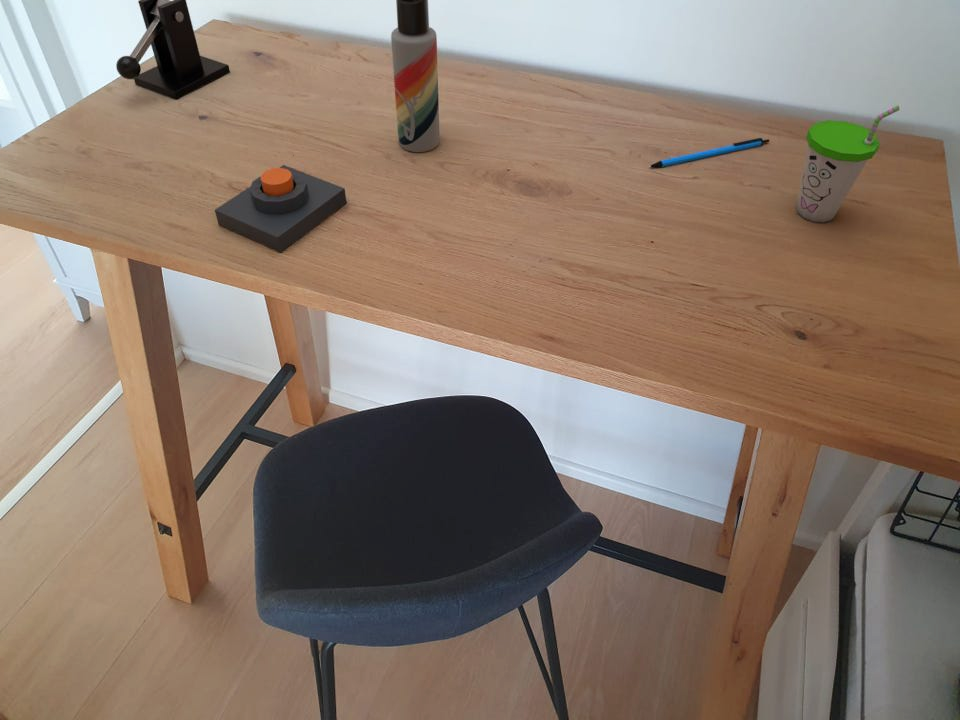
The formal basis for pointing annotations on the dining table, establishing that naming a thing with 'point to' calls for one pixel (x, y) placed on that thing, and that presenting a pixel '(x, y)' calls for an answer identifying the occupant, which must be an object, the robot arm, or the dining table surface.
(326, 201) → the control block
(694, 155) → the pen
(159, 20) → the switch
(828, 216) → the cup
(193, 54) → the switch bracket
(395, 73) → the lotion bottle
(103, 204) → the dining table surface
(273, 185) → the button
